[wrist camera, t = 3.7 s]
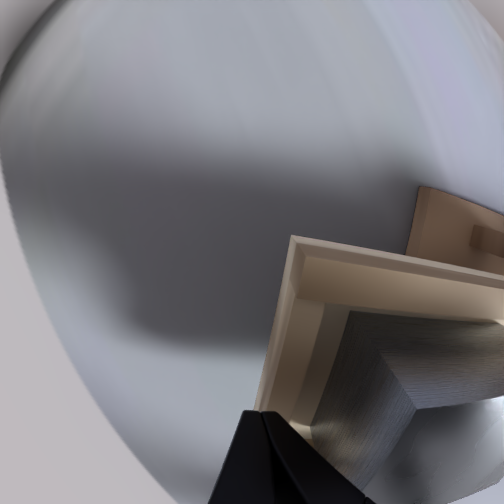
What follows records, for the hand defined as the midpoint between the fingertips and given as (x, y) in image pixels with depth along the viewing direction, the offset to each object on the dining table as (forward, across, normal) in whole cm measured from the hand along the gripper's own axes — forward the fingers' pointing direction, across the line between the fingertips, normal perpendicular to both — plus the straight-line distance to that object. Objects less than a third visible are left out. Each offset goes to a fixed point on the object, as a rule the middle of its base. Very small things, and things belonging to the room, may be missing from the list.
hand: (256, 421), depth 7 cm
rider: (+2, -6, 0) cm, 6 cm away
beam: (+2, -13, 0) cm, 13 cm away
